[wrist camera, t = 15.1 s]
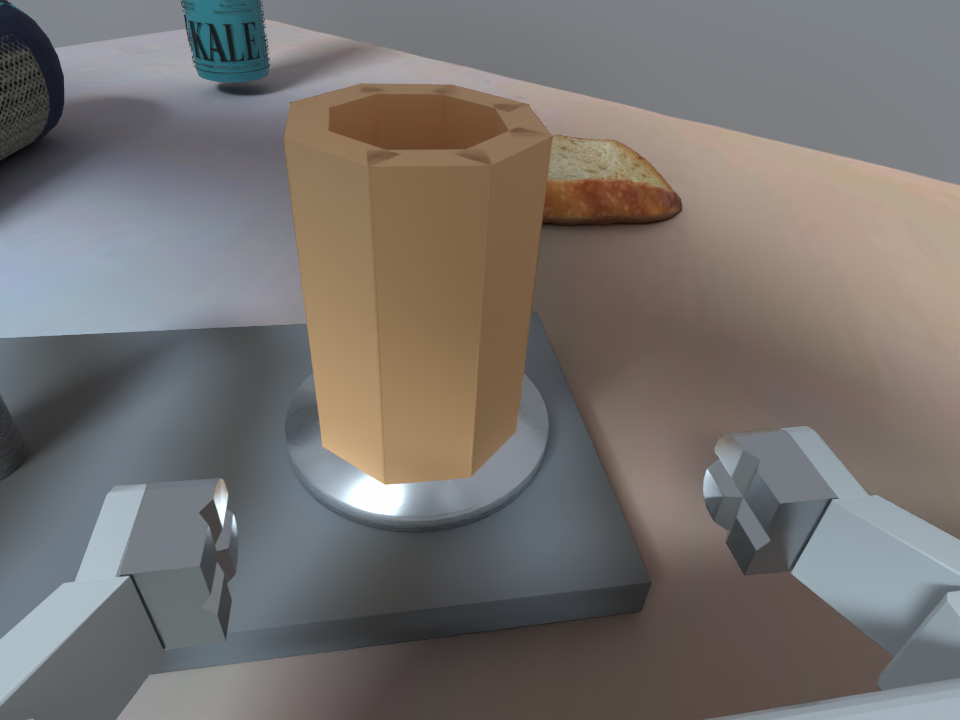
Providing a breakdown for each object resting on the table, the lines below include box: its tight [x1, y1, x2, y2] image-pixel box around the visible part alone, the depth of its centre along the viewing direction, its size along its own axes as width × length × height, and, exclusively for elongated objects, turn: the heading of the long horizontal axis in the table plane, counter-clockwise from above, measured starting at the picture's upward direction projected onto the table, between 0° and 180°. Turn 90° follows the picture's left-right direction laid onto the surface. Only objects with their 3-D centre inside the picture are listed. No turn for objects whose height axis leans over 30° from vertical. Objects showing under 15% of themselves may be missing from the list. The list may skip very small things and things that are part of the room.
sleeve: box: [283, 84, 553, 486], centre depth 20 cm, size 6×6×10 cm
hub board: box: [0, 313, 652, 674], centre depth 20 cm, size 26×14×11 cm, turn 99°
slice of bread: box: [542, 135, 682, 226], centre depth 43 cm, size 18×18×4 cm
